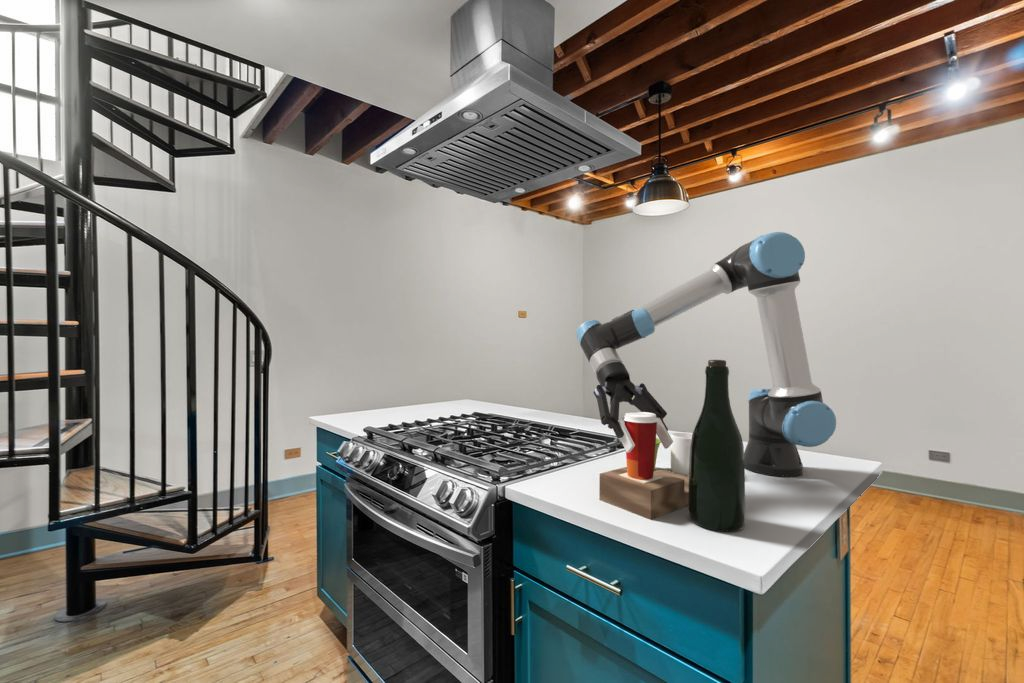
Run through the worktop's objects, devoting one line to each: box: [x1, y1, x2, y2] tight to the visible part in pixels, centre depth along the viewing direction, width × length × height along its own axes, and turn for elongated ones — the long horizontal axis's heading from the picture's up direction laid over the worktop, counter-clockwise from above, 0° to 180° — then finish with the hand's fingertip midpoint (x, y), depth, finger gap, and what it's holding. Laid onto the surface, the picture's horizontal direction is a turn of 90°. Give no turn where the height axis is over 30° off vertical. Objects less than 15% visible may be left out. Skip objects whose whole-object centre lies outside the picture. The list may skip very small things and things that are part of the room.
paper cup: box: [622, 411, 658, 480], centre depth 100 cm, size 8×8×14 cm
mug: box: [670, 431, 693, 476], centre depth 123 cm, size 12×8×10 cm
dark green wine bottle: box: [687, 359, 746, 532], centre depth 90 cm, size 10×10×33 cm
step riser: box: [598, 466, 689, 520], centre depth 104 cm, size 24×14×6 cm, turn 126°
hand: (650, 447), depth 97 cm, fingers open, 9 cm apart
